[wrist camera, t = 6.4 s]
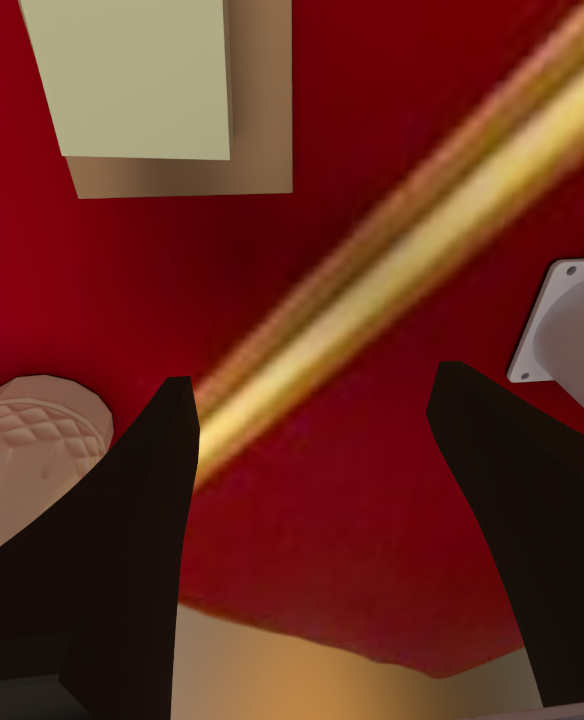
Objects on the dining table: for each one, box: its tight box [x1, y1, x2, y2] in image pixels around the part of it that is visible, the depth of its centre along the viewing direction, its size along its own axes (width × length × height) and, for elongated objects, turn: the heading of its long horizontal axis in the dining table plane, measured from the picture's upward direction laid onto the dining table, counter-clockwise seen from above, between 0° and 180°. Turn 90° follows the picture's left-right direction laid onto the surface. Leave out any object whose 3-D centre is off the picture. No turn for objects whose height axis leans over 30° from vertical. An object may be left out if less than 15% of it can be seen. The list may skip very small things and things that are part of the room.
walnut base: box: [18, 0, 292, 199], centre depth 14 cm, size 8×8×3 cm
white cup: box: [0, 375, 114, 546], centre depth 19 cm, size 8×8×10 cm
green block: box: [20, 0, 234, 160], centre depth 10 cm, size 4×4×5 cm
